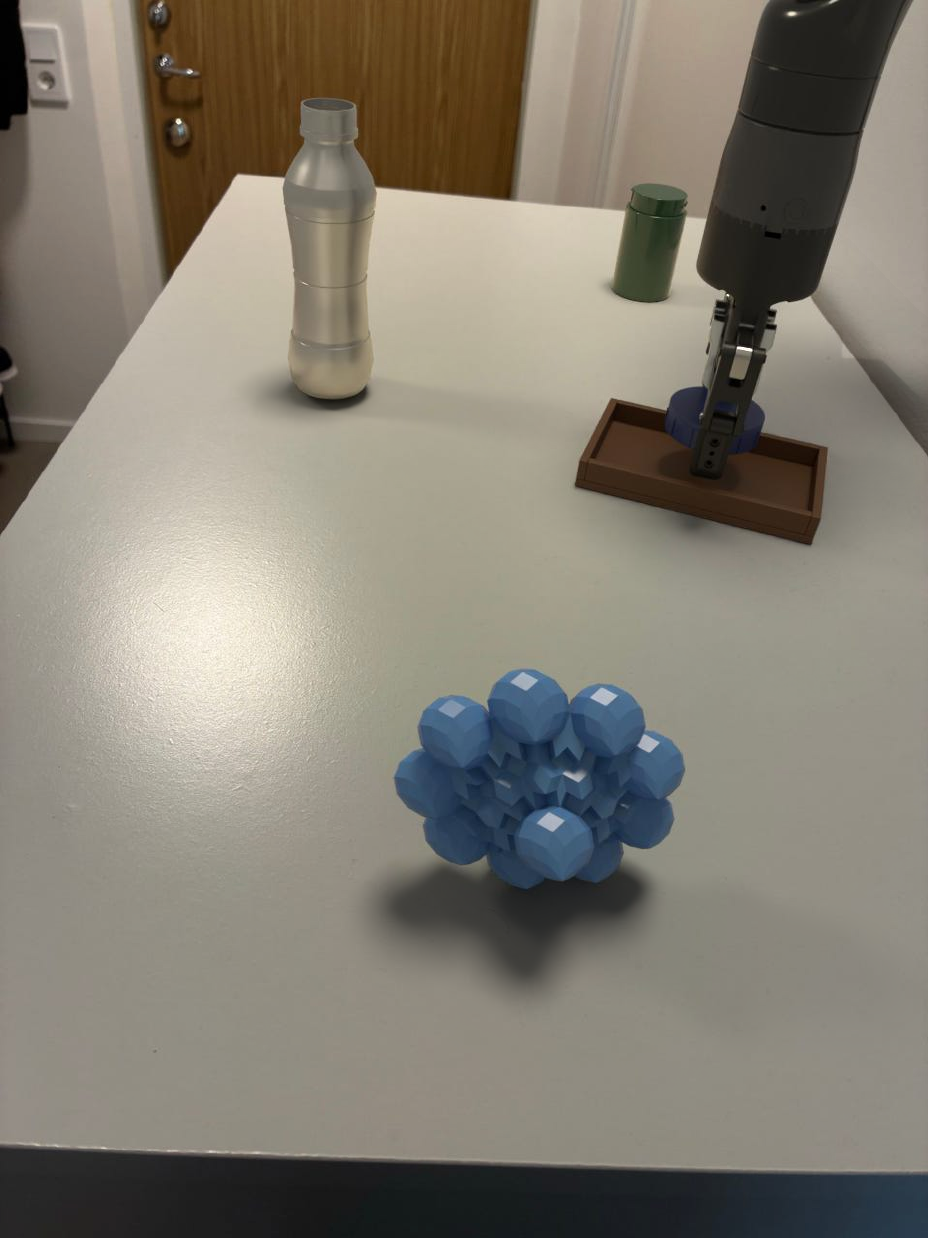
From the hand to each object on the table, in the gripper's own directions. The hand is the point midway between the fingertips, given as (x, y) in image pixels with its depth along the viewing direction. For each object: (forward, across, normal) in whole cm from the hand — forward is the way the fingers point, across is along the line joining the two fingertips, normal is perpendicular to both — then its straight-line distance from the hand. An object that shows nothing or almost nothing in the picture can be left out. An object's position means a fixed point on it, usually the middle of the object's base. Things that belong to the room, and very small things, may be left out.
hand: (707, 449), depth 67 cm
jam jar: (+2, -35, -8) cm, 36 cm away
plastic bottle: (+3, -2, -29) cm, 29 cm away
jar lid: (-3, 0, 0) cm, 3 cm away
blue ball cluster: (+2, +38, -5) cm, 38 cm away
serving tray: (+2, 0, 0) cm, 2 cm away
